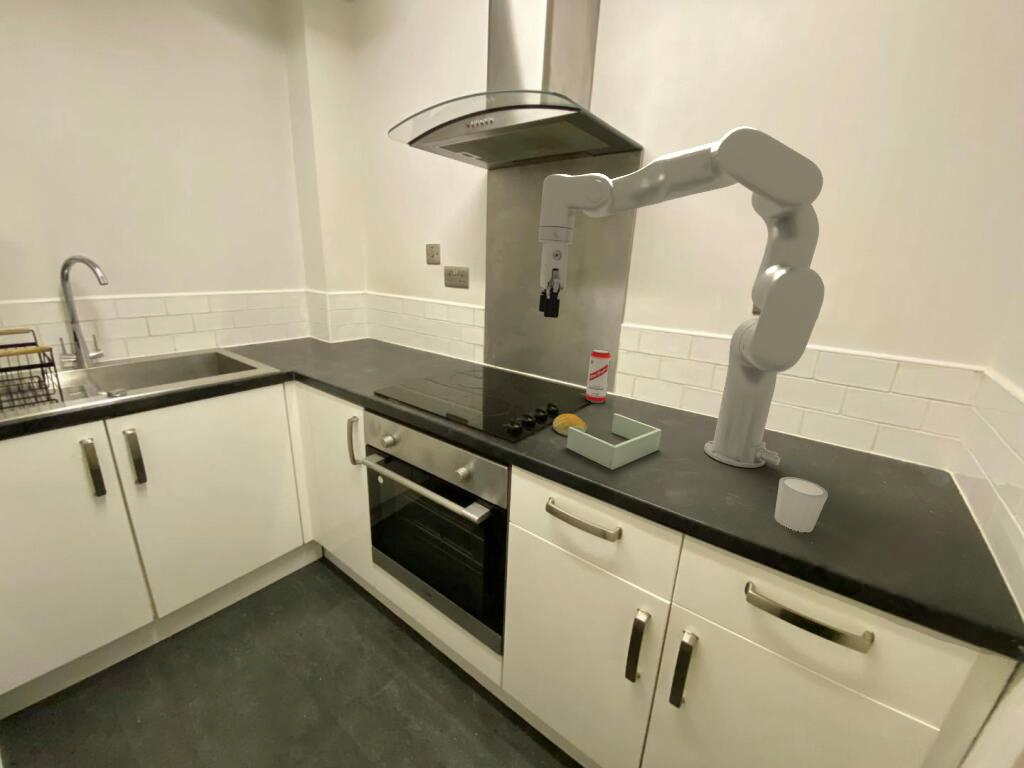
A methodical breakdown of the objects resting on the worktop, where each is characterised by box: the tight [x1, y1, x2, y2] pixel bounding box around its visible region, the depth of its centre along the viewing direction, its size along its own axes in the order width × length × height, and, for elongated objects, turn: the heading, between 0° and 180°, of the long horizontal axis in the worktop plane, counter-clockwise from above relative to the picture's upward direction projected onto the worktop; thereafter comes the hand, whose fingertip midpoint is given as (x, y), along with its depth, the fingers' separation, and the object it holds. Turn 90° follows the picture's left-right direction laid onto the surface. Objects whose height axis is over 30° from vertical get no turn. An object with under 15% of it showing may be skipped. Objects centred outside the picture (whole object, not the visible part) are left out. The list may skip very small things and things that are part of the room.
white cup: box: [774, 476, 829, 533], centre depth 71 cm, size 7×7×7 cm
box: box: [566, 412, 662, 471], centre depth 96 cm, size 13×18×5 cm
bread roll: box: [552, 413, 588, 437], centre depth 107 cm, size 8×9×4 cm
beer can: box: [585, 348, 612, 404], centre depth 129 cm, size 6×6×16 cm
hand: (547, 314), depth 97 cm, fingers open, 9 cm apart
